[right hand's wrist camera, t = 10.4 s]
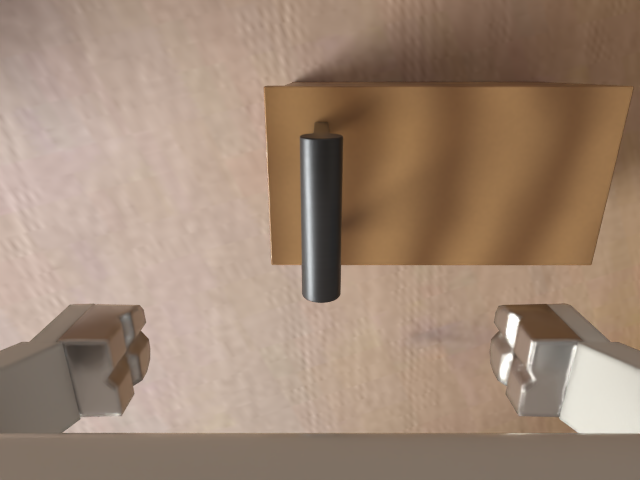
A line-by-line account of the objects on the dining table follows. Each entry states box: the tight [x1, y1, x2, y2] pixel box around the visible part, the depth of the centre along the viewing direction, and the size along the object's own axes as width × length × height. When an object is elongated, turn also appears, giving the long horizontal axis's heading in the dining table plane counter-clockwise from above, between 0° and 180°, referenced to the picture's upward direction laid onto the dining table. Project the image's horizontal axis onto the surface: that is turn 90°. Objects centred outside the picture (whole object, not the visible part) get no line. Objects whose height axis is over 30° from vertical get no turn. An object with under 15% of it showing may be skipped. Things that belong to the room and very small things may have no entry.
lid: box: [264, 86, 634, 303], centre depth 21 cm, size 18×10×8 cm, turn 90°
